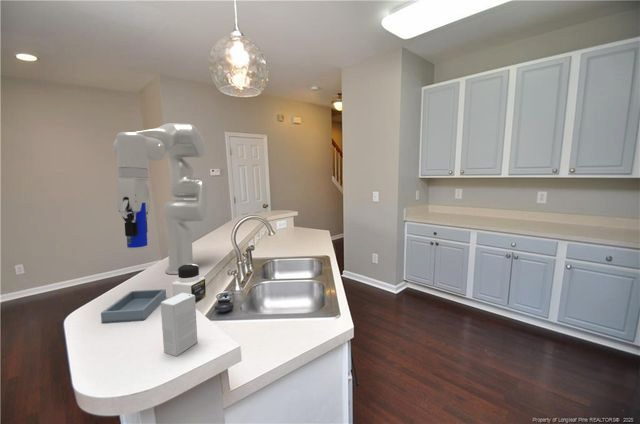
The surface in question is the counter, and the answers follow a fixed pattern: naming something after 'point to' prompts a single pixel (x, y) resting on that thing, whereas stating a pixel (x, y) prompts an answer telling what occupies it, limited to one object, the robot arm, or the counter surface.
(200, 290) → the medicine bottle
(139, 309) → the tray
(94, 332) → the counter surface
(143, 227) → the beverage can
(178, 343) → the skincare box
